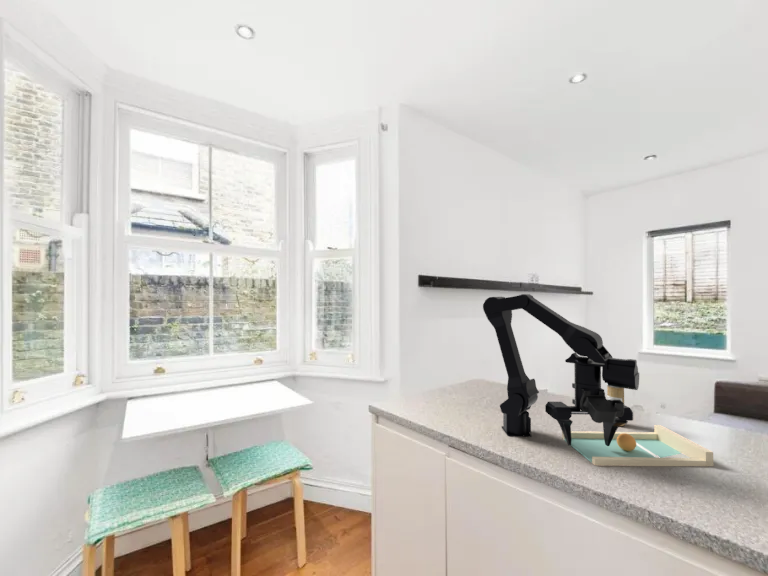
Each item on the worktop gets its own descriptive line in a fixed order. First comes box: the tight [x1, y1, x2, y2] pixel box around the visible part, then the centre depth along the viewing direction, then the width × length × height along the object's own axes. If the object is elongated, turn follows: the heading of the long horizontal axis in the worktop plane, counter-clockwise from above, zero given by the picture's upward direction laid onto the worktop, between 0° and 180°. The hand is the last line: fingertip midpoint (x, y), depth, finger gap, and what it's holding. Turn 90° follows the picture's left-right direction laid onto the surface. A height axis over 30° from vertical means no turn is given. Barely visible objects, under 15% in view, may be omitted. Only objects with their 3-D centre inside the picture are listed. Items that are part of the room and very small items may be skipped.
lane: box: [561, 424, 714, 467], centre depth 87 cm, size 26×16×4 cm, turn 88°
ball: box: [617, 433, 636, 451], centre depth 87 cm, size 4×4×4 cm
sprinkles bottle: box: [606, 383, 626, 427], centre depth 106 cm, size 5×5×14 cm
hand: (588, 445), depth 87 cm, fingers open, 9 cm apart
